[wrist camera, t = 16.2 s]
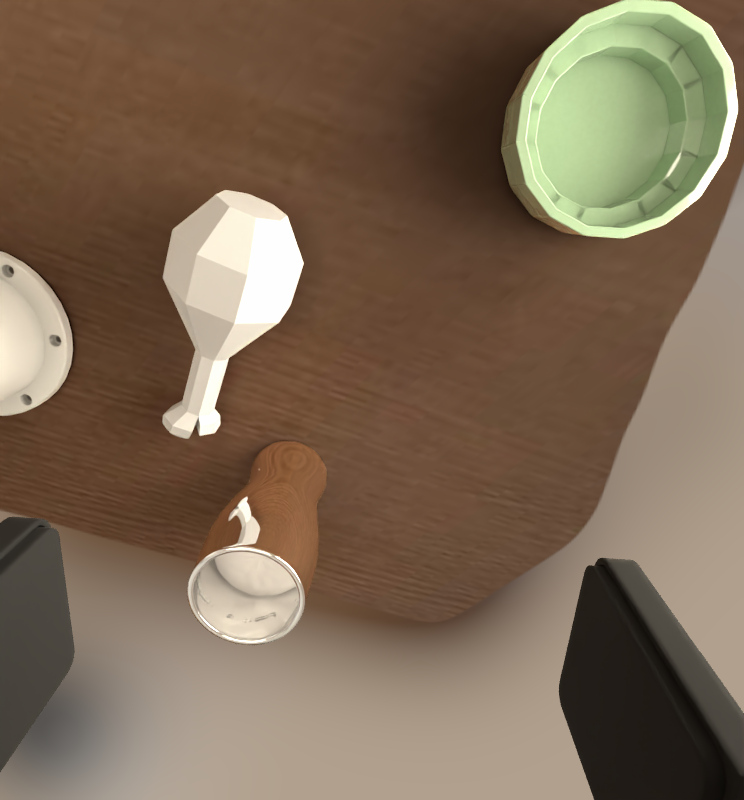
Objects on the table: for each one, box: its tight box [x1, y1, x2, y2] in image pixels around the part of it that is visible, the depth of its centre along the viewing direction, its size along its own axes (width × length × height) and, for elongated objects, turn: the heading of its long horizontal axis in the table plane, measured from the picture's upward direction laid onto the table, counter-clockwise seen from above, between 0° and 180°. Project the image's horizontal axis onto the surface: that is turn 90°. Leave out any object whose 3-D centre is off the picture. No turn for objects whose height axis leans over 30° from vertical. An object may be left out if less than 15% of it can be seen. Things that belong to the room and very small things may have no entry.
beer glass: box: [187, 441, 327, 645], centre depth 38 cm, size 7×7×15 cm
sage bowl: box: [501, 0, 738, 239], centre depth 34 cm, size 12×12×5 cm
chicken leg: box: [162, 190, 304, 439], centre depth 38 cm, size 8×18×8 cm, turn 158°
